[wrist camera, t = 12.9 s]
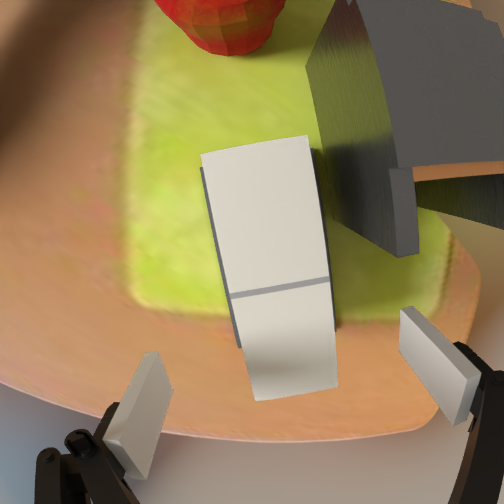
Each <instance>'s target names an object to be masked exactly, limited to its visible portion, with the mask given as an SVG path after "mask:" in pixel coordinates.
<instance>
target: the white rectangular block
mask: <svg viewBox="0 0 504 504" xmlns="http://www.w3.org/2000/svg"><path fill="white" fill-rule="evenodd" d="M200 155H201V160H202V165H203V170H204V175H205V180H206V185H207V190H208V195H209V200H210V205H211V210H212V215H213V220H214V225H215V230H216V234H217V239H218V244H219V248H220V253H221V258H222V262H223V267H224V271H225V276H226V280H227V285H228V289H229V295H230V299H231V303H232V307H233V311H234V316H235V320H236V324H237V328H238V333H239V337H240V341H241V345H242V349H243V354H244V358H245V362H246V366H247V370H248V374H249V378H250V382H251V386H252V390H253V394H254V398H255V401H262V400H269V399H276V398H282V397H289V396H295V395H300V394H306V393H311V392H316V391H321V390H326V389H331V388H336V387H338V373H337V357H336V343H335V330H334V318H333V308H332V298H331V288H330V277H329V270H328V262H327V254H326V246H325V239H324V232H323V225H322V218H321V211H320V205H319V198H318V192H317V186H316V180H315V174H314V169H313V163H312V158H311V152H310V147H309V142H308V137H307V135H304V136H297V137H290V138H284V139H277V140H271V141H265V142H259V143H254V144H248V145H243V146H238V147H233V148H228V149H223V150H218V151H213V152H209V153H204V154H200Z"/></svg>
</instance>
